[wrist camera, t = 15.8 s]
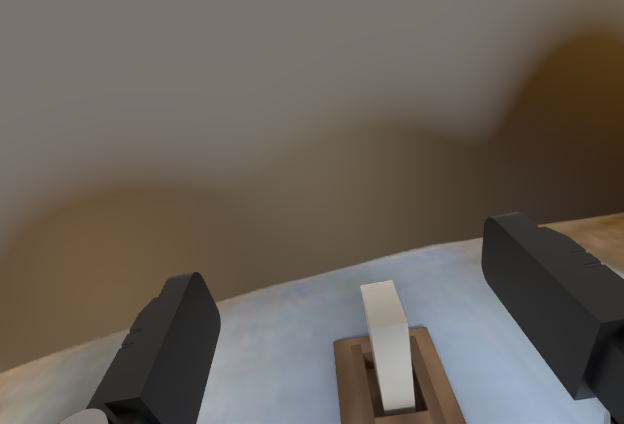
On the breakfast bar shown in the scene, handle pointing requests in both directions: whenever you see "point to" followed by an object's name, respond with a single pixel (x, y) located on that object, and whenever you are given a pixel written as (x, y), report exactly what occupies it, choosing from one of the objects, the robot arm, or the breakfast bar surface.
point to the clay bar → (389, 347)
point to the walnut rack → (365, 391)
